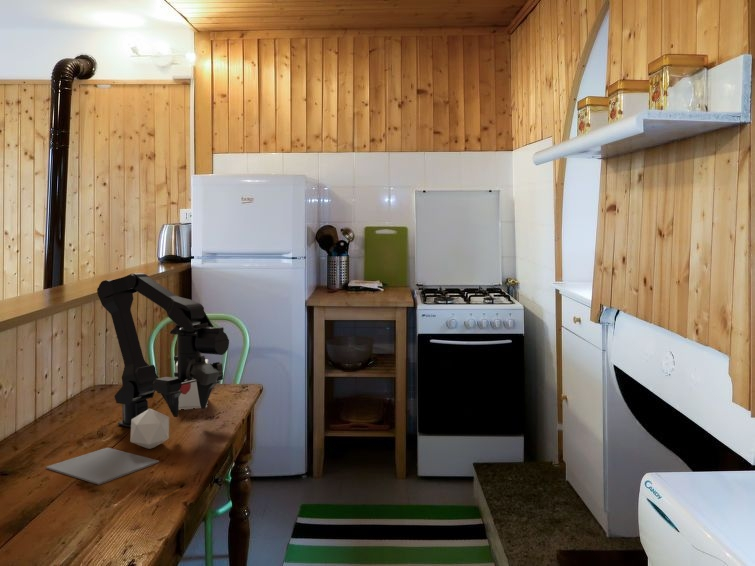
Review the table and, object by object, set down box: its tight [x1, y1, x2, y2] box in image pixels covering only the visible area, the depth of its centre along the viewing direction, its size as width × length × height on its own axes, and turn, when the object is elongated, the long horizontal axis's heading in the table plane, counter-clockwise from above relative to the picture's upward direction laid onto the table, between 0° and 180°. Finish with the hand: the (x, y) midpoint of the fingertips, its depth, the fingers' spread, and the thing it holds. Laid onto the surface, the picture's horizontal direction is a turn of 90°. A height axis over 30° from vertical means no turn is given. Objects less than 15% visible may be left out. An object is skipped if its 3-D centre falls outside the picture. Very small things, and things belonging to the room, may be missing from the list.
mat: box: [45, 447, 160, 486], centre depth 131 cm, size 18×15×1 cm
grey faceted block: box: [129, 408, 170, 450], centre depth 142 cm, size 8×9×10 cm
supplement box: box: [174, 358, 209, 411], centre depth 175 cm, size 9×9×15 cm
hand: (189, 412), depth 153 cm, fingers open, 9 cm apart
